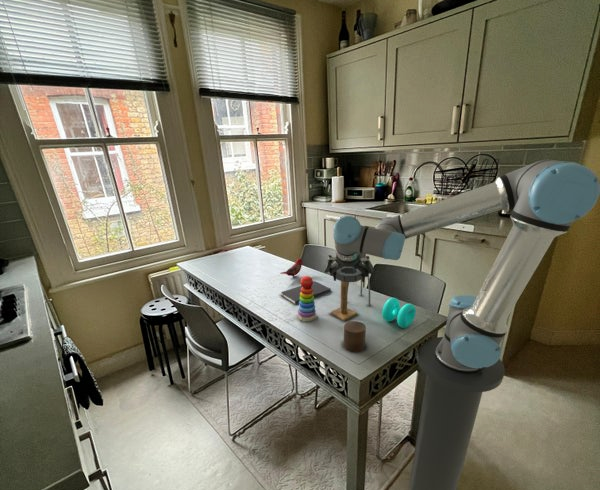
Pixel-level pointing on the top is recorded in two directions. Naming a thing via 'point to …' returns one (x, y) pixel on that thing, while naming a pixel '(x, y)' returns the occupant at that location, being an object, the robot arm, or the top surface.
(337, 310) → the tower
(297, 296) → the notebook
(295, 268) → the decorative bird figurine
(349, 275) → the gray octagonal ring
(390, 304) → the teal toy dumbbell
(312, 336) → the top surface
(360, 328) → the stand
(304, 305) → the stacking toy
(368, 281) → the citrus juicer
